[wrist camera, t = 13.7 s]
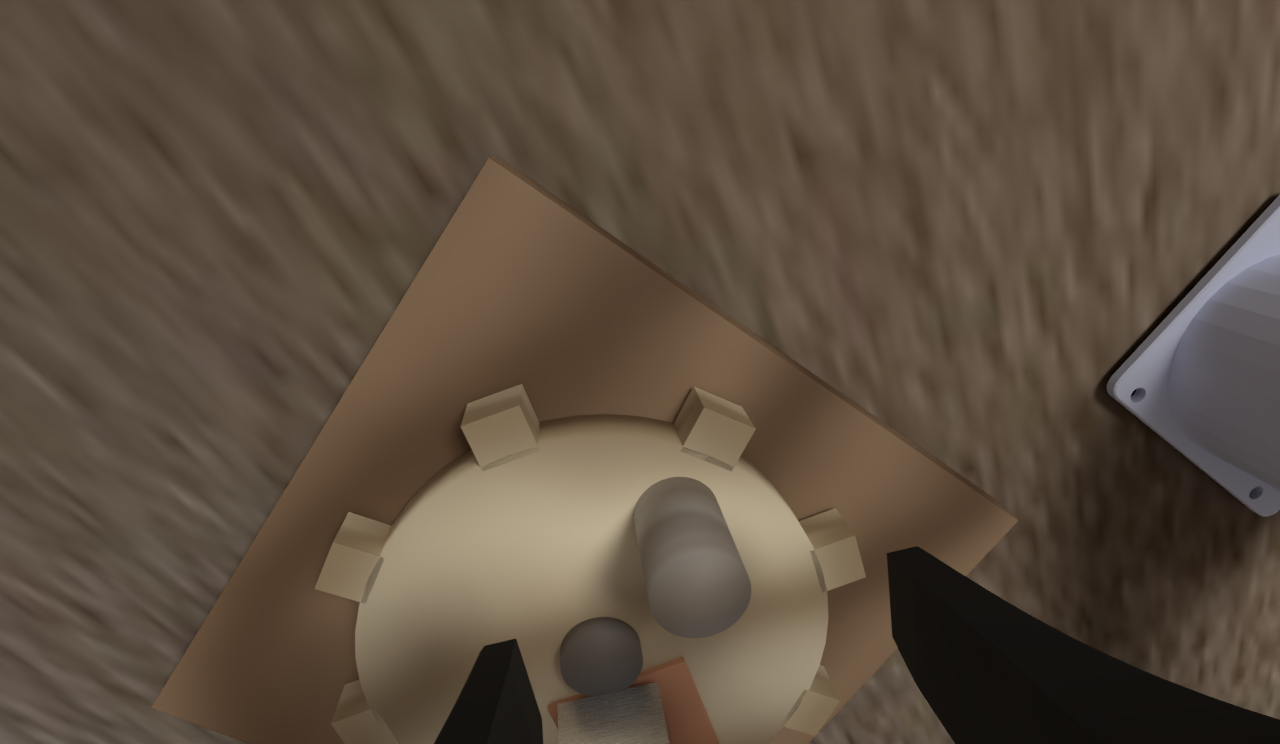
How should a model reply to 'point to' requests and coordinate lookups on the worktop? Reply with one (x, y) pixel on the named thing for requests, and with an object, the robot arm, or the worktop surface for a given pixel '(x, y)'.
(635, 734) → the link block
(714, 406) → the sprocket wheel
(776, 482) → the base board
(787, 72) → the worktop surface
